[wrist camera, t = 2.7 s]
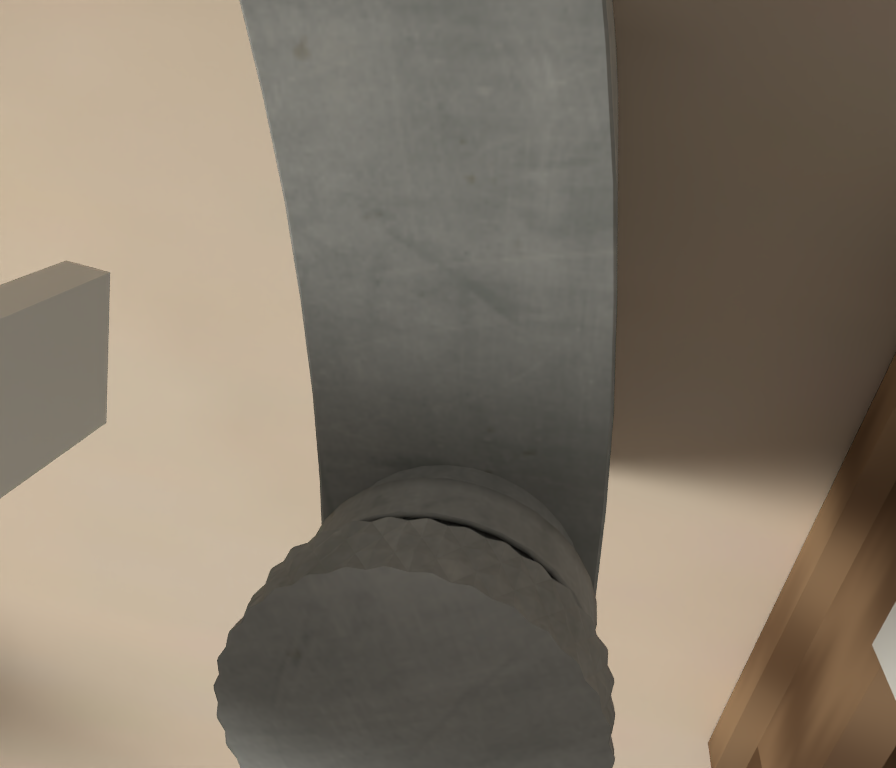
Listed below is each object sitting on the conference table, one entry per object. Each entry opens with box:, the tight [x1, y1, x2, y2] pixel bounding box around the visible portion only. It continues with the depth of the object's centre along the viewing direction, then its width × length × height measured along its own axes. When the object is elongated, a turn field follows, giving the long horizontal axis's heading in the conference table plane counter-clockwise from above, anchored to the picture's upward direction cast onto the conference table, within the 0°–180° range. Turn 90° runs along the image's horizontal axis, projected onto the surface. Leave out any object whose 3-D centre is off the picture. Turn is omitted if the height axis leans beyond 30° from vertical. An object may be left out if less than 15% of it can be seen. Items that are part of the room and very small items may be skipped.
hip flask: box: [214, 0, 618, 768], centre depth 16 cm, size 16×4×20 cm, turn 178°
